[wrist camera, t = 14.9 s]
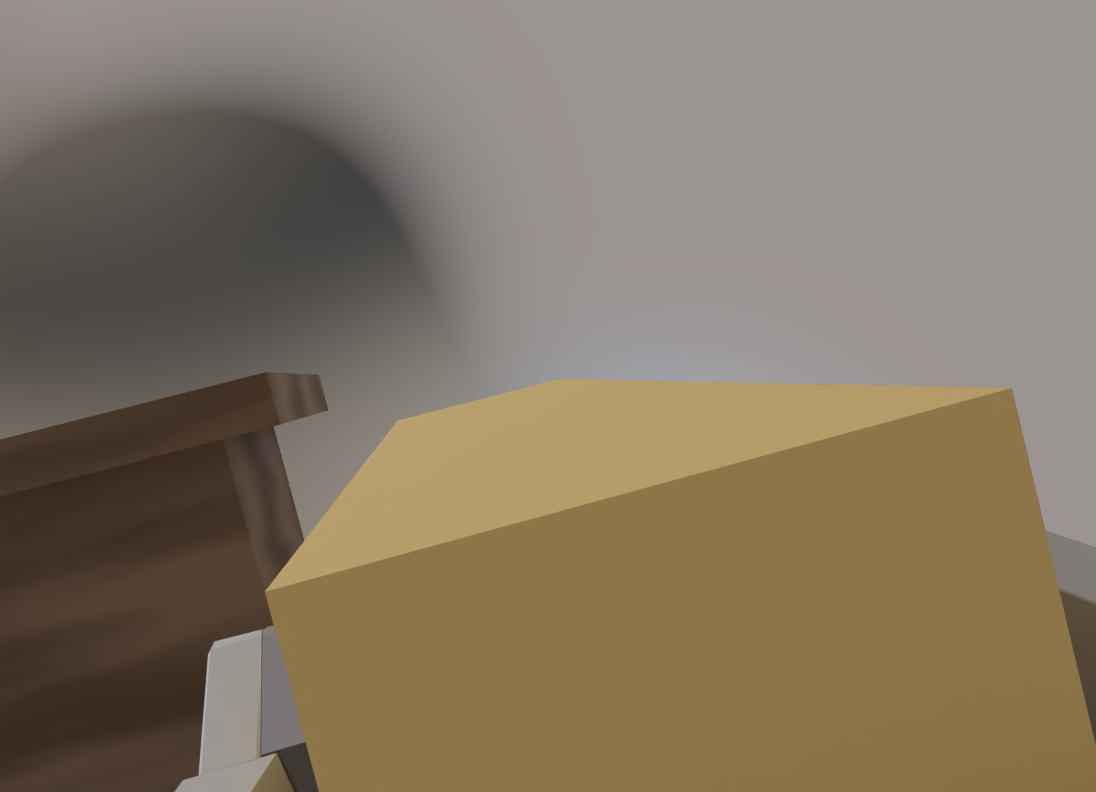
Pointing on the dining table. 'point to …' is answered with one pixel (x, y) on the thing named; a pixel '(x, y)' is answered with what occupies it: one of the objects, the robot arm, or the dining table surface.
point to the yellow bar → (689, 598)
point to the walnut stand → (136, 577)
